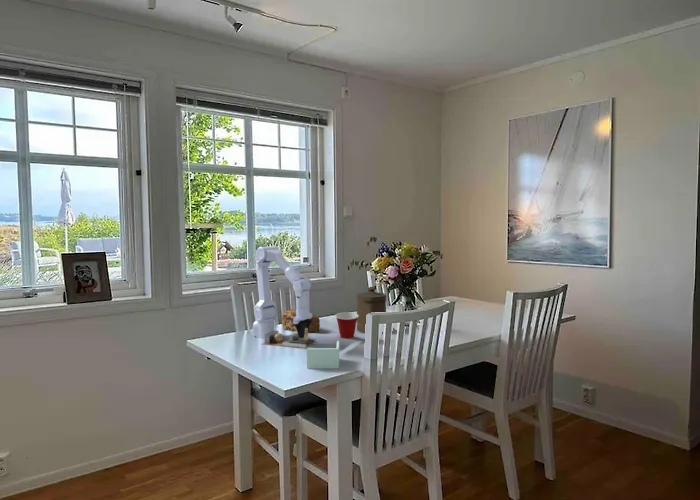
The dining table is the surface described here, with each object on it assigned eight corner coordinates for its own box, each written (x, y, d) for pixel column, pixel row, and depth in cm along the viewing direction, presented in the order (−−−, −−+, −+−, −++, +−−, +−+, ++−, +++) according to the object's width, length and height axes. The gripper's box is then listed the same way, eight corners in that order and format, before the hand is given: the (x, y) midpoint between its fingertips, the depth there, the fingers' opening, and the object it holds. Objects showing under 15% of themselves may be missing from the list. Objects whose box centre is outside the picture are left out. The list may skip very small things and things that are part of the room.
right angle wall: (339, 359, 200) (339, 340, 200) (338, 368, 188) (338, 348, 188) (309, 359, 200) (309, 341, 200) (307, 368, 188) (306, 349, 188)
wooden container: (391, 328, 252) (391, 285, 251) (377, 334, 240) (377, 289, 238) (366, 325, 260) (365, 284, 259) (351, 331, 248) (350, 287, 246)
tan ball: (272, 342, 221) (272, 333, 220) (277, 340, 224) (277, 331, 224) (280, 343, 219) (280, 334, 219) (285, 341, 223) (284, 332, 223)
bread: (281, 329, 254) (280, 310, 253) (297, 326, 261) (297, 307, 261) (304, 335, 241) (304, 315, 240) (321, 331, 248) (320, 312, 247)
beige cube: (289, 345, 216) (289, 329, 216) (296, 341, 222) (296, 326, 222) (302, 346, 214) (302, 330, 213) (309, 342, 220) (309, 327, 219)
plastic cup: (338, 343, 224) (338, 317, 223) (333, 338, 234) (332, 313, 233) (361, 342, 227) (361, 316, 226) (355, 336, 237) (354, 311, 236)
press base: (260, 347, 219) (260, 335, 218) (274, 341, 230) (274, 329, 229) (305, 352, 210) (305, 339, 210) (317, 345, 222) (317, 333, 221)
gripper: (303, 309, 208) (303, 341, 209) (318, 303, 221) (318, 333, 222) (288, 308, 211) (289, 340, 212) (304, 302, 224) (304, 332, 225)
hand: (303, 336), depth 217 cm, fingers closed on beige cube, 3 cm apart
